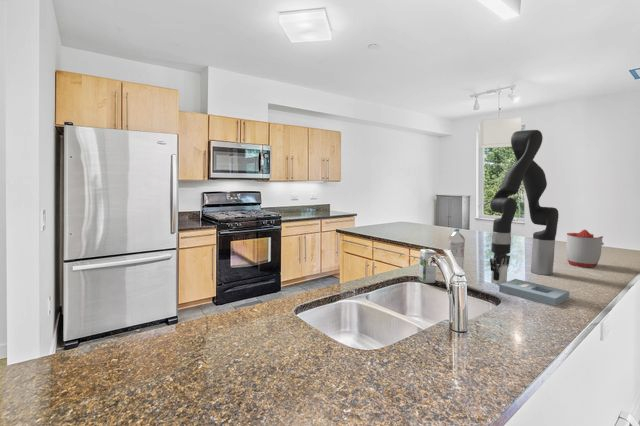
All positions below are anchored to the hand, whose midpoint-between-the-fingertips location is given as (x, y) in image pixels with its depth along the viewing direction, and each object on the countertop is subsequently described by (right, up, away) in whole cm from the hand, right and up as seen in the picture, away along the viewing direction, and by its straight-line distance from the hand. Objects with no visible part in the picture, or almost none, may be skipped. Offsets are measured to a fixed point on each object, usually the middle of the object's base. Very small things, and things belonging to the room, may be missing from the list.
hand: (499, 278), depth 148 cm
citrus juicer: (+64, +1, +32) cm, 72 cm away
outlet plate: (+5, -3, -16) cm, 17 cm away
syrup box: (-32, -2, +2) cm, 32 cm away
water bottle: (-21, -2, -3) cm, 22 cm away
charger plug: (0, -2, 0) cm, 2 cm away
